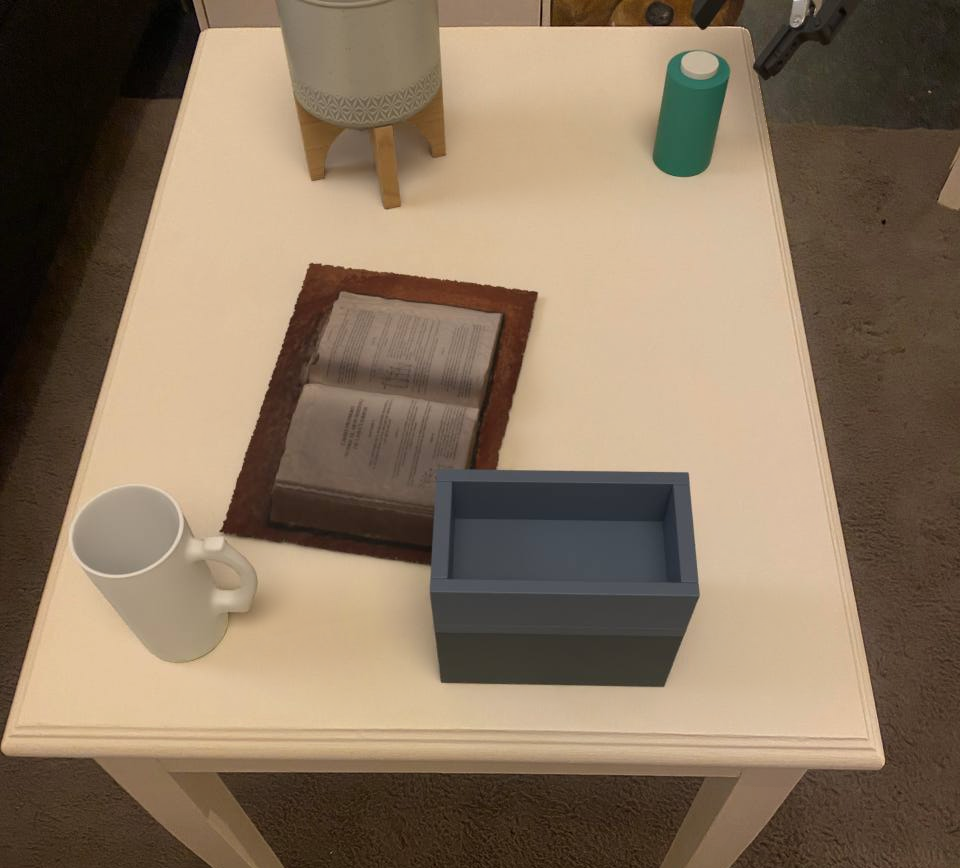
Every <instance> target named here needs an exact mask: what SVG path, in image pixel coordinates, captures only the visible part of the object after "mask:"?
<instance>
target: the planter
mask: <svg viewBox="0 0 960 868" xmlns="http://www.w3.org/2000/svg"><path fill="white" fill-rule="evenodd" d="M275 6H276V12H277V16H278V20H279V27H280V31H281V36H282V37H281V38H282V42H283V47H284V52H285V58H286V62H287V66H288V71H289V77H290V82H291V87H292V94H293V100H294V104H295V108H296V109H295V110H296V115H297V119H298V124H299V128H300V129H299V130H300V135H301V140H302V144H303V149H304V154H305V161H306V165H307V171H308V174H309V177H310V180H311V181H317V180H322V179H323V180H324V179H325V177H326V176H325V164H326V160H327V159H326V158H327V156H328V153H329V150H330V149H331V146H332V145H333V144H334V142H335V140H336V139H337V138H338V137H339V136H340V135H342V133H343V132H345V130H352V131H363V132H364V131H367V132H368V137H369V140H370V145H371V149H372V154H373V157H374V162H375V163H374V164H375V167H376V168H375V169H376V174H377V178H378V184H379V190H380V196H381V202H382V205H383V209H384V210H387V209H392V208H397V207H401V206H402V203H401V194H400V193H401V192H400V183H399V175H398V167H397V166H398V165H397V156H396V148H395V147H396V146H395V136H394V126H397V125H399V124H401V123H403V122H405V121H407V122H409V123H411V124H412V125H414V126H415V127H416V128H418V129H419V130H420V131H421V132H422V133H423V135H424V136H425V138H426V139H427V141H428V147H429V151H430V154H431V156H432V157H433V158H436V157H443V156H446V155H447V151H446V149H447V148H446V132H445V114H444V111H445V109H444V95H443V93H444V92H443V73H442V57H441V56H442V55H441V52H442V51H441V37H440V17H439V16H440V15H439V0H275Z"/></svg>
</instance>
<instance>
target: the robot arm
mask: <svg viewBox="0 0 960 868" xmlns="http://www.w3.org/2000/svg"><path fill="white" fill-rule="evenodd" d="M727 1H728V0H694V1H693V3H692V6H691V12H690V15H689V19H690V20H691V21H692V22H693V24H694V25H695V26H696V27H698V28H699V30H701V31H705V30H707V29H708V27H709V26H710V25H711V23H712V22H713V20H714V19H715V17H716V16H717V15H718V13H719V12H720V11H721V9H722V8H723V7H724V5H725V4H726V2H727ZM862 1H863V0H825V2H824V1H823V0H792V5H791V12H790V16H789V24H788V25H786V23H783V24H782V25H781V26H780V28H779V30H778V31H777V32H776V33H775V35H774V36H773V37H772V39H771V40H770V41H769V42H768V44H767V45H766V46H765V48H764V49H763V51H761V53H760V54H759V55H758V57H757V58H756V59H755V61H754V63H753V64H752V69H753V71H754V72H755V73H756V74H757V76H758V77H760V78H761V79H762V80H763V81H768V80H769V79H770V78H771V77H775V76H777V75H778V74H780V73H781V72H782V70H783V69H784V67H785V66H786V65H787V63H788V62H789V61H790V60H791V59H792V57H793V56H794V55H795V53H796V52H797V51H798V50H799V48H800V47H801V46H802V45H803V44H804V43H806V42H808V41H809V42H810V41H811V42H817V43H818V42H819V44H820V45H821V46H828V45H830V44H831V43H832V42H833V41H834V40H835V38H836V37H837V35H838V34H839V33H840V31H841V30H842V28H843V27H844V26H845V25H846V24H847V22H848V20H849V19H850V18H851V16H852V15H853V13H854V12H855V11H856V9H857V8H858V7H859V5H860V4H861V2H862ZM822 3H823V4H822Z"/></svg>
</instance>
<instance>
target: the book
mask: <svg viewBox="0 0 960 868" xmlns="http://www.w3.org/2000/svg"><path fill="white" fill-rule="evenodd" d="M304 276H305V277H304V280H302V285H301V287H300V288H301V290H300V291H299V293H298V295H297V297H296V303H295V304H294V308H293V309H294V311H293V314H292V316H290V319H289V322H288V327H287V328H286V332H285V334H284V338H283V340H282V341H283V343H282V344H281V349H280V351H279V354H278V355H277V360H276V362H275V367H274V368H273V371H272V373H271V376H270V377H271V378H270V380H269V382H268V384H267V386H268V388H267V391H265V394H264V399H263V401H262V405H261V406H260V410H259V412H258V415H259V416H258V418H257V419H256V423H255V424H256V425H254V426H255V428H254V429H253V431H252V435H251V436H250V440H249V442H248V445H247V449H246V451H245V453H244V457H243V462H242V465H241V470H240V472H239V473H238V476H237V478H236V481H235V487H234V489H233V494H231V499H230V501H231V502H230V503H229V505H228V510H227V512H226V514H225V515H226V517H225V518H226V519H224V520H222V527H221V528H220V529H219V530H218V532H219V533H223V534H225V535H227V534H228V535H230V536H232V535H233V534H234V535H236V536H237V537H239V536H243V537H244V538H245V537H248V536H250V537H252V538H254V539H257V538H258V539H266V540H267V541H271V540H272V541H273V542H279V543H281V542H282V541H284V543H287V542H289V543H292V544H297V545H299V546H305V547H309V546H311V547H314V548H323V550H325V549H326V550H330V551H337V552H344V553H348V554H349V553H354V554H357V555H366V556H371V557H376V558H380V559H381V558H382V559H383V558H385V559H390V560H393V561H395V560H398V561H399V560H400V561H404V562H410V563H411V562H412V563H413V564H415V563H417V564H420V565H422V564H427V565H430V566H431V559H432V542H433V525H434V508H435V491H436V473H437V469H471V470H497V467H498V464H499V457H500V453H499V452H500V451H499V450H500V448H502V444H503V443H502V442H503V439H504V437H505V435H506V429H507V425H508V424H509V423H508V422H509V421H510V413H509V411H510V410H511V409H512V407H513V397H514V394H515V393H516V389H517V385H518V379H519V376H520V372H521V369H522V365H523V359H524V355H523V353H525V351H526V348H527V342H528V338H529V334H530V331H531V330H530V329H531V327H532V320H533V319H534V309H535V306H536V301H537V300H538V299H537V298H538V295H539V292H538V291H535V290H528V289H519V288H508V287H504V286H501V285H497V286H495V285H491V284H486V283H485V284H482V283H477V282H471V281H469V282H468V281H461V280H460V281H459V280H456V279H454V280H450V279H448V278H447V279H445V278H443V279H441V278H435V277H429V278H428V277H425V276H418V275H411V274H403V273H396V272H393V271H391V272H390V271H377V270H375V271H374V270H369V269H365V268H352V267H347V268H345V267H344V266H341V265H337V266H335V265H333V264H332V265H331V264H324V265H323V264H322V263H314V262H310V263H309V264H308V267H307V268H306V273H305V275H304Z"/></svg>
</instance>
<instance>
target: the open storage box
mask: <svg viewBox="0 0 960 868" xmlns="http://www.w3.org/2000/svg"><path fill="white" fill-rule="evenodd" d="M690 484H691V483H690V473H689V471H626V470H625V471H623V470H620V471H619V470H618V471H617V470H615V471H614V470H543V469H541V470H540V469H539V470H538V469H496V470H471V469H437V473H436V491H435V508H434V525H433V542H432V559H431V565H430V580H429V598H430V606H431V613H432V614H431V615H432V622H433V630H434V637H435V638H434V639H435V645H436V651H437V652H436V653H437V662H438V669H439V678H440V683H442V684H483V685H484V684H485V685H487V684H489V685H535V686H536V685H537V686H538V685H539V686H540V685H542V686H589V687H591V686H592V687H595V686H597V687H599V686H600V687H646V688H647V687H648V688H649V687H650V688H664V687H665V686H666V683H667V681H668V678H669V675H670V673H671V670H672V668H673V665H674V662H675V660H676V658H677V655H678V653H679V650H680V647H681V644H682V642H683V640H684V637H685V635H686V632H687V630H688V627H689V624H690V622H691V619H692V617H693V614H694V611H695V609H696V607H697V604H698V601H699V599H700V597H701V593H700V583H699V572H698V561H697V551H696V538H695V528H694V515H693V506H692V495H691V485H690Z"/></svg>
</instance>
